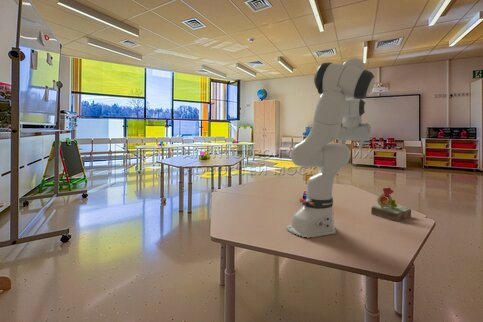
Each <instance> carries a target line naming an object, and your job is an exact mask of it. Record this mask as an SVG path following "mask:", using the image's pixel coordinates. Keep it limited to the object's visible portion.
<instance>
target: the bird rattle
mask: <svg viewBox="0 0 483 322" xmlns="http://www.w3.org/2000/svg"><path fill="white" fill-rule="evenodd" d="M382 191H383V192H382V193H380V194H379V195H378V196H377V200H376V201H377V203H378V205H380V206H381V208H383V207H388V206H390V205H391V208H394V207H397V206H398V204H397V203H396V200H395V199H393V197H392V196H391V195H392V194H393V193H394V189H393V190H392V188H391V187H383V188H382ZM386 203H387V204H386Z"/></svg>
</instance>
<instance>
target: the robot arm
mask: <svg viewBox="0 0 483 322" xmlns="http://www.w3.org/2000/svg"><path fill="white" fill-rule="evenodd" d="M313 83H314V86H315V89H317V92H318V94H319V95H320V96H319V99H318V101H317V103H316V106H315V110H314V115H313V119H312V125H311V129H310V131H309V133H308V135H307V136H306V137H305V138H304V139H302V141H300V142H299V143H297V144H295V145H294V146H293V147H292V149H291V151H290V159H291V161H292V162H293V164H294V166H295V167H296V166H297V167H301V168H302V167H303V168H320V169H319V170H318V172H317V173H315V174H313V175H310V176H309V178H308V179H307V181H306V195H305V198H302V197H300V198H299V203H302V206H301V207H300V208H299V209H298V210H297V211H296V212H295V213H293V215H292V217H291V223H290V224H287V225H286V227H285V228H286V230H287V231H289V232H290V233H291V234H293V235H295V234H296V235H295V236H298V235H299V236H298V237H300V236H302V237H301V238H304V237H307V238H306V239H310V237H311V238H316V237H322V236H329V235H334V234H336V233H337V230H336V227H335V219H334V211H333V205H334V204H333V203H334V199H333V187H334V180H335V178H336V176H337V174H338V172H339V171H340V170H341V169H342V168H343V167H345V166H346V165H347V164H348V163H349V161H350V160H351V159H350V158H351V151H350V148H349V147H348V145H347V144H346V142H347V141H352V142H353V141H354V142H355V141H356V142H358V143H359V145H357V150H362V149H363V145H364V144H365V142H369V141H371V139H372V133H371V132H372V131H371V125H370V124H369V123H367V122H366V123H363V118H362V116H363V114H365V113H366V111H365V110H366V109H365V106H366V102H365V100H363V99H366V98H367V97H368V96H369V94H371V92H372V91H373V89H374V85H375V75H374V73H373V72H371V71H369V70H368V69H367V68H366V65H365V63H364V62H363V60H362V59H360V58H358V57H355V58H354V57H351V58H349V59H347V60H345V61H344V62H343V63H333V62H322V63H321V64H320V65H319V66H318V67H317V69H316V72H315V73H314V79H313ZM335 140H337V141H341V142H339V143H338V142H333V141H335Z"/></svg>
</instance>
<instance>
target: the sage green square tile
mask: <svg viewBox="0 0 483 322" xmlns="http://www.w3.org/2000/svg"><path fill="white" fill-rule="evenodd" d="M386 204H387V203H386ZM411 209H412V208H407V207H404V206H400V205H397V207H394V208H391V205H390V206H388V207H383V208H381V206H380V205H379V204H378V205H375V206H372V207H371V210H370V211H371V212H370V213H371V215H373V216H376V217H377V216H378V217H380V218H384V219H387V220H391V221H394V222H398V221H402V220H406V219H408V218H411V216H412V210H411Z"/></svg>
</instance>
